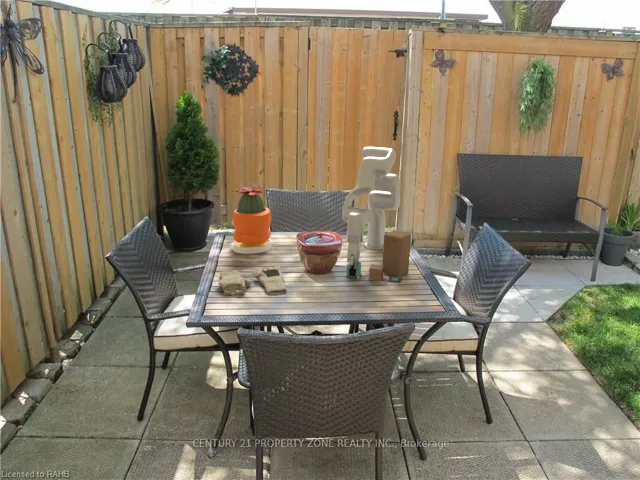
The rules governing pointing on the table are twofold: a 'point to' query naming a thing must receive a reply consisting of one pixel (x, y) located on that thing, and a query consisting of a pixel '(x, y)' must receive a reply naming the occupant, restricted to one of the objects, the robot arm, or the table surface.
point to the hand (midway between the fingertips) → (353, 273)
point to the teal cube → (358, 269)
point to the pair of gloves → (238, 284)
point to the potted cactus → (251, 223)
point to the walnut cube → (376, 272)
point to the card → (394, 279)
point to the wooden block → (396, 252)
